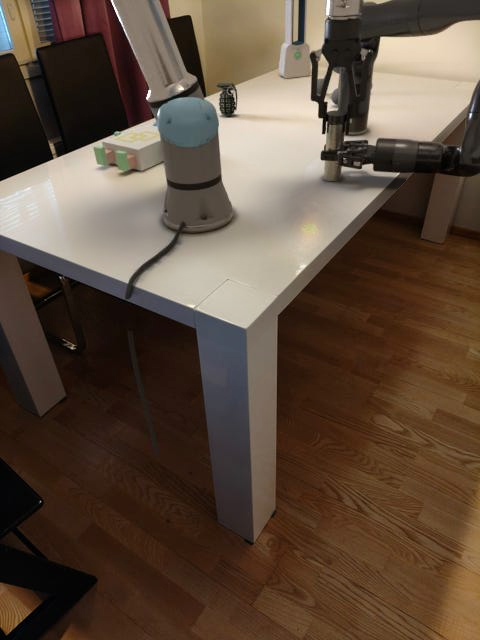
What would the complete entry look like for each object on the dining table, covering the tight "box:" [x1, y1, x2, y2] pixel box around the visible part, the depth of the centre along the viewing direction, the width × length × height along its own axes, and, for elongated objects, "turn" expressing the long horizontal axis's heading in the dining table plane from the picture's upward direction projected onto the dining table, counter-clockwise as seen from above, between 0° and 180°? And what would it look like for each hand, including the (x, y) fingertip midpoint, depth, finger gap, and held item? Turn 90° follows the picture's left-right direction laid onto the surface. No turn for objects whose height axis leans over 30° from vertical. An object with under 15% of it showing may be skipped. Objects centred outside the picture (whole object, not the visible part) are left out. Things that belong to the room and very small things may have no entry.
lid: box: [326, 109, 347, 124], centre depth 112 cm, size 5×5×2 cm
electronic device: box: [278, 0, 312, 79], centre depth 204 cm, size 12×8×30 cm, turn 105°
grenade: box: [215, 82, 238, 117], centre depth 166 cm, size 7×6×10 cm
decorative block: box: [92, 121, 164, 172], centre depth 138 cm, size 26×6×20 cm
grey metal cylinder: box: [323, 122, 345, 182], centre depth 117 cm, size 4×4×15 cm
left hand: (335, 132), depth 115 cm, fingers closed on lid, 5 cm apart
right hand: (322, 151), depth 118 cm, fingers closed on grey metal cylinder, 4 cm apart
